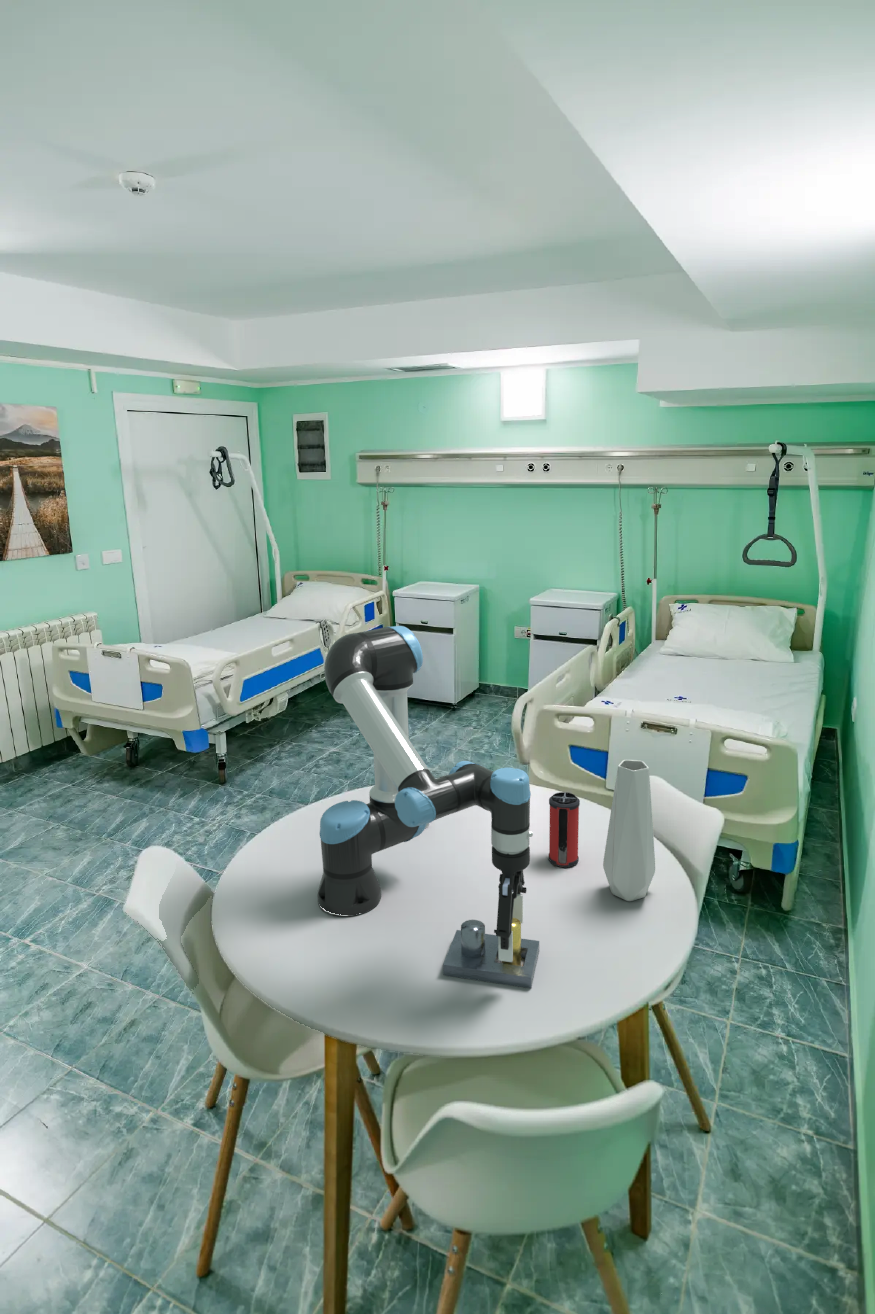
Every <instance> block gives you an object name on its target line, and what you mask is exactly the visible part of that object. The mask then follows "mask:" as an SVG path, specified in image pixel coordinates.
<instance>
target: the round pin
mask: <svg viewBox="0 0 875 1314" xmlns="http://www.w3.org/2000/svg"><path fill="white" fill-rule="evenodd" d="M511 931H513V961H512V962H506V961H501V963H503V964H510V965H517V966H522V958H521V939H522V923H521V922H520V921H519V920H518V919H516V918H512V929H511Z"/></svg>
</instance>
